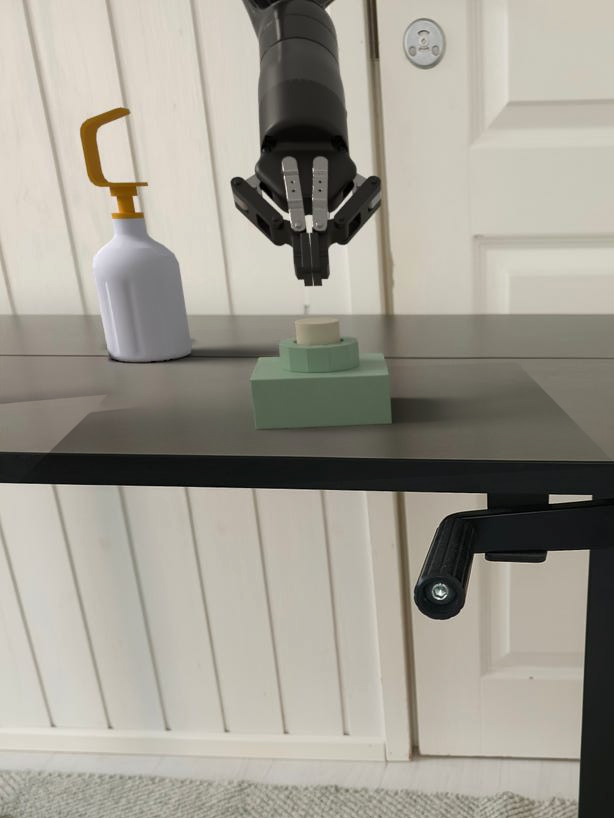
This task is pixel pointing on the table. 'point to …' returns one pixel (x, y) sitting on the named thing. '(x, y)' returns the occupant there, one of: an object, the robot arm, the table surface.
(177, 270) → the soap bottle
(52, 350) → the table surface
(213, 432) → the table surface
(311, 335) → the cylinder
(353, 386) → the dispenser
